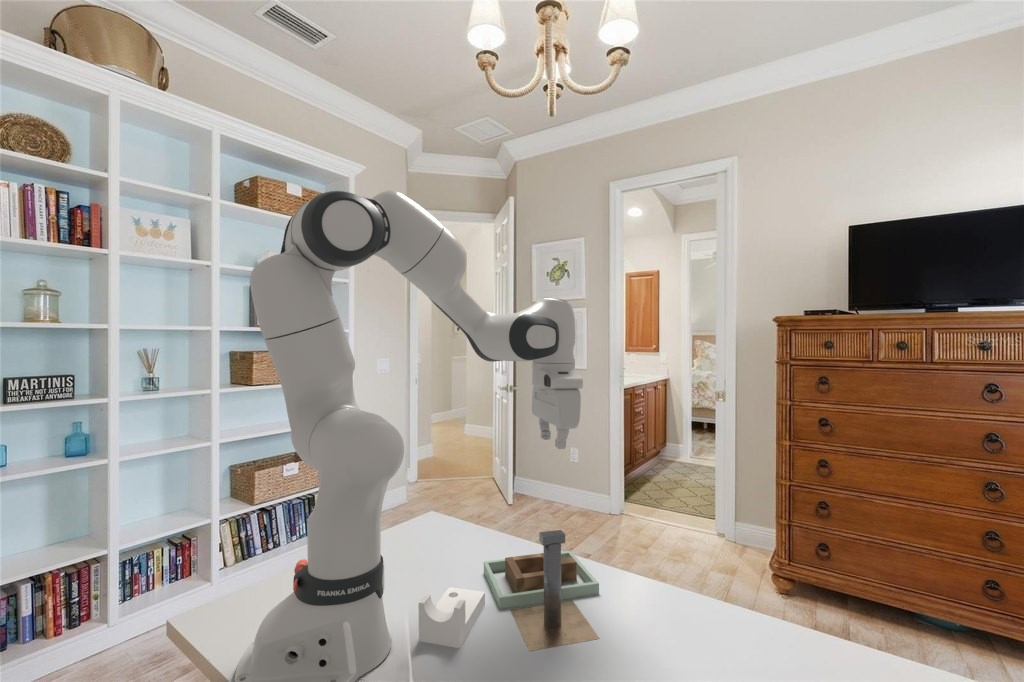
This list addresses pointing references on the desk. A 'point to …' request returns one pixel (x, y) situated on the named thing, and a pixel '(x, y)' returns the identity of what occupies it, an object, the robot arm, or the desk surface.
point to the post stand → (552, 606)
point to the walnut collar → (534, 571)
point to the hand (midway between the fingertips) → (552, 443)
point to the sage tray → (538, 595)
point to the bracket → (449, 616)
